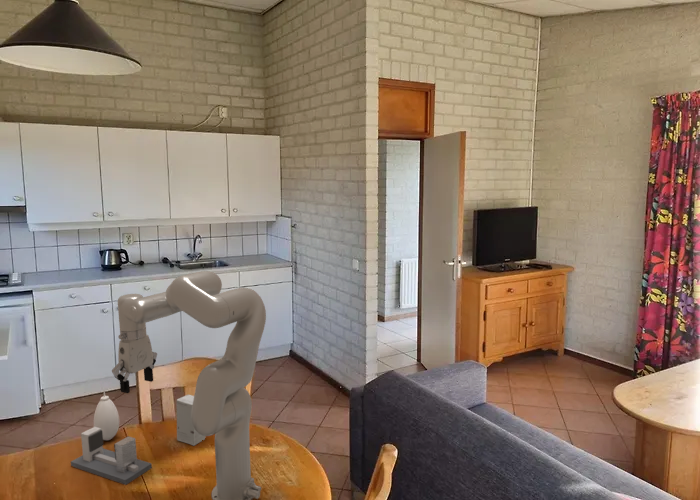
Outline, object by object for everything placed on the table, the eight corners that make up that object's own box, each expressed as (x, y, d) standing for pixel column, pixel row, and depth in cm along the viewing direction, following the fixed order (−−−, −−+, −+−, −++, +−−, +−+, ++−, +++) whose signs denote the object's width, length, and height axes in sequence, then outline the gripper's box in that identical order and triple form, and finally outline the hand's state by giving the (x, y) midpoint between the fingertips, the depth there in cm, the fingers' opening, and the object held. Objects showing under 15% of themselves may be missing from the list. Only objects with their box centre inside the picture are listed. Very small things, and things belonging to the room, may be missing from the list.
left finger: (137, 464, 163) (135, 438, 162) (124, 473, 159) (121, 445, 157) (128, 462, 165) (126, 435, 163) (115, 470, 160) (113, 443, 159)
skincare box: (176, 440, 181) (174, 399, 179) (189, 433, 186) (187, 393, 184) (195, 446, 177) (192, 404, 175) (207, 438, 182) (205, 397, 180)
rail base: (151, 467, 164) (149, 436, 163) (125, 484, 155) (123, 452, 154) (98, 451, 174) (96, 421, 173) (71, 466, 165) (68, 435, 164)
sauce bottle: (111, 445, 178) (107, 395, 175) (90, 443, 179) (86, 393, 177) (124, 434, 186) (121, 385, 183) (104, 432, 187) (100, 384, 184)
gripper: (120, 343, 154) (124, 399, 156) (162, 327, 170) (166, 378, 172) (101, 340, 157) (106, 395, 159) (145, 325, 173) (148, 375, 175)
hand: (137, 386), depth 166 cm, fingers open, 9 cm apart
